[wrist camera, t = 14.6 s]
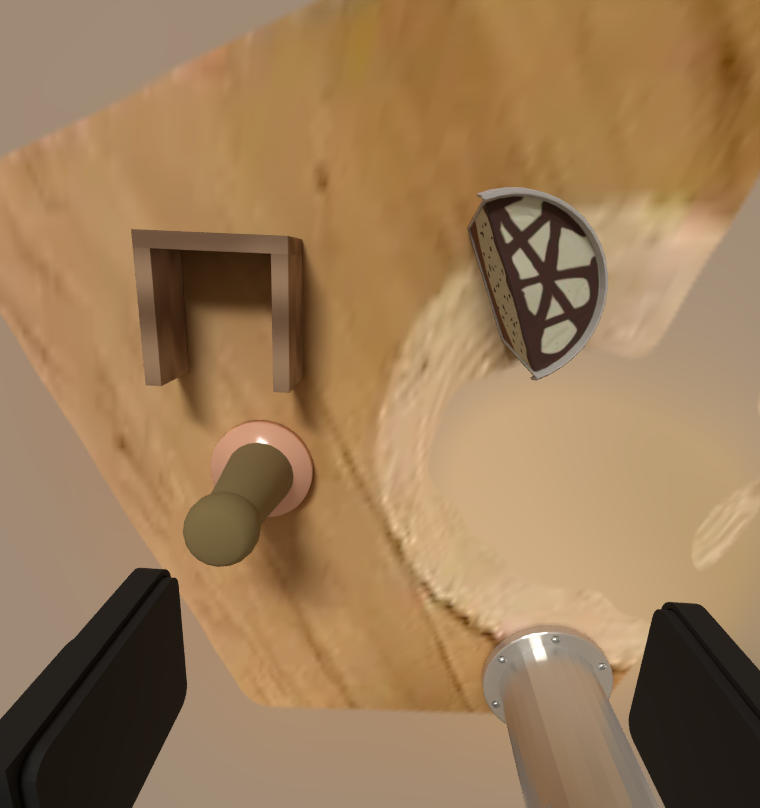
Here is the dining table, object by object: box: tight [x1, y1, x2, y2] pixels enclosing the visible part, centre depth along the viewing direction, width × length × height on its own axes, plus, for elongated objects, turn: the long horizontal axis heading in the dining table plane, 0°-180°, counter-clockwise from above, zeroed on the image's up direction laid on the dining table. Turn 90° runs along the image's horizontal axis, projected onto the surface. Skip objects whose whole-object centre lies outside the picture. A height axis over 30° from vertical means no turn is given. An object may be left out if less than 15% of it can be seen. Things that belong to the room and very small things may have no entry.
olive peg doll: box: [183, 443, 293, 567], centre depth 38 cm, size 6×6×11 cm
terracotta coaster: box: [211, 420, 313, 518], centre depth 44 cm, size 9×9×1 cm
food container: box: [467, 187, 608, 380], centre depth 34 cm, size 12×6×10 cm, turn 20°
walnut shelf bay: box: [131, 229, 302, 393], centre depth 38 cm, size 11×11×5 cm
